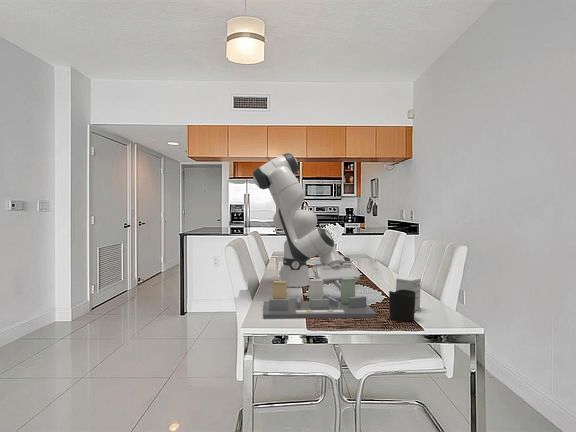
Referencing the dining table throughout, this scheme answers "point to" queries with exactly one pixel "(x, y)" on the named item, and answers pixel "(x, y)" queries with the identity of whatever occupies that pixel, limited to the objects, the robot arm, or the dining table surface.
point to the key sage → (347, 289)
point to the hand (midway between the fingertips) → (343, 290)
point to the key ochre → (279, 289)
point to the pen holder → (402, 305)
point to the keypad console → (318, 308)
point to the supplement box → (410, 287)
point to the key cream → (315, 289)
